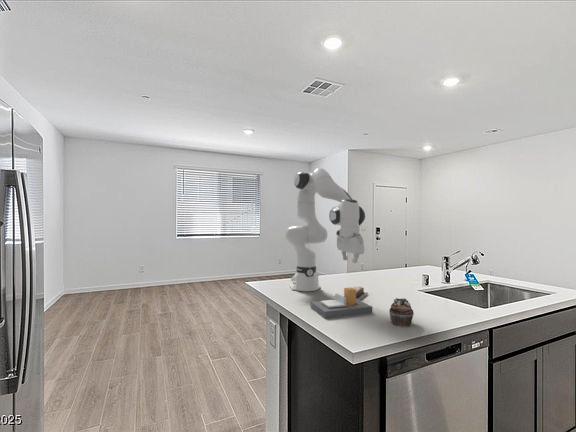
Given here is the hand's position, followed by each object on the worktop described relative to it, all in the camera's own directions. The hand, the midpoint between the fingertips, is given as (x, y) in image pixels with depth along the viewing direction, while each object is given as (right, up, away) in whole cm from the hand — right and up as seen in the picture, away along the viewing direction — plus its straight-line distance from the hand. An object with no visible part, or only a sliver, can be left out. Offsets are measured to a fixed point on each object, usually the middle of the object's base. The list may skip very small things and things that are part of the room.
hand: (349, 261), depth 144 cm
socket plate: (-5, -23, -2) cm, 24 cm away
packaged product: (+7, -24, +23) cm, 34 cm away
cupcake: (+18, -23, -19) cm, 35 cm away
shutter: (-9, -20, -3) cm, 22 cm away
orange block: (0, -23, 0) cm, 23 cm away
